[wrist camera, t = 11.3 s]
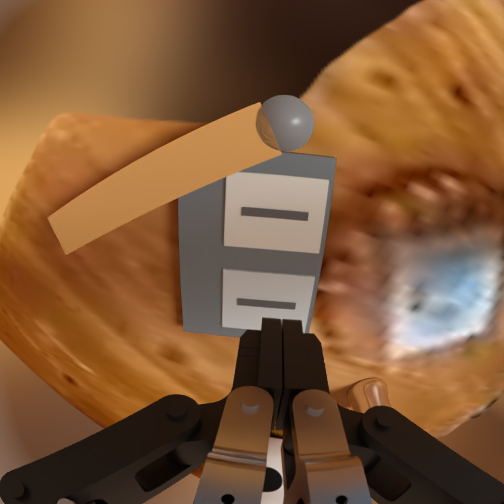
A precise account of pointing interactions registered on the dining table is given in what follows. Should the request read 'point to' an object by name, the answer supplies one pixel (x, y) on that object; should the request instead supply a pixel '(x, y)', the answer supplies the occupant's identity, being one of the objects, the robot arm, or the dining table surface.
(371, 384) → the beer glass
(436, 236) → the dining table surface
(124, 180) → the swing bar
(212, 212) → the label board
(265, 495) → the milk container
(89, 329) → the dining table surface
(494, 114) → the dining table surface
